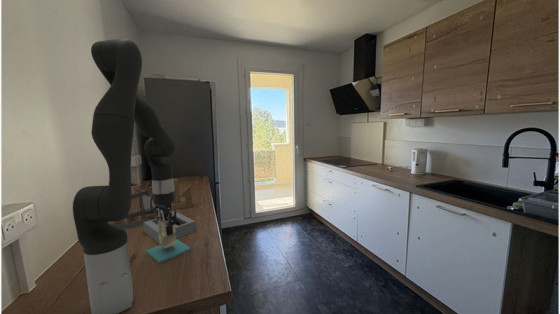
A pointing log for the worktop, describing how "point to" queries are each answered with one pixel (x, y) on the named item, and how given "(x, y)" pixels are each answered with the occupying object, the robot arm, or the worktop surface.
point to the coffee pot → (147, 200)
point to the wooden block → (186, 194)
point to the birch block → (163, 238)
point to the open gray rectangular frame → (182, 230)
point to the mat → (167, 251)
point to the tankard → (135, 209)
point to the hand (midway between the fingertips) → (167, 232)
